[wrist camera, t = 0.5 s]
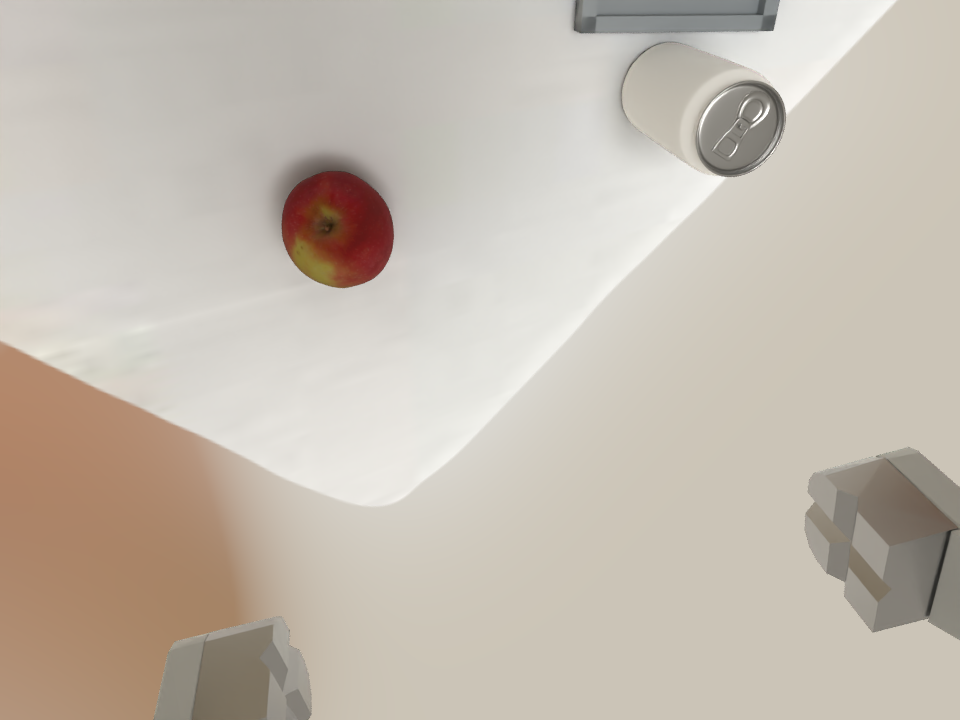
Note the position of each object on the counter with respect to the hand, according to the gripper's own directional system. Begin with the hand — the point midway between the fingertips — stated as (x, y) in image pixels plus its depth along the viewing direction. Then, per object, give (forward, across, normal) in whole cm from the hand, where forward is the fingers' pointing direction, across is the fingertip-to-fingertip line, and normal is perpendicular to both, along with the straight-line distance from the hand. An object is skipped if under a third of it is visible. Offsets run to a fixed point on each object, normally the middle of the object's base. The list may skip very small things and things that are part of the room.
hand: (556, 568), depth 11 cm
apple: (+45, +5, +9) cm, 46 cm away
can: (+45, -20, +6) cm, 49 cm away
